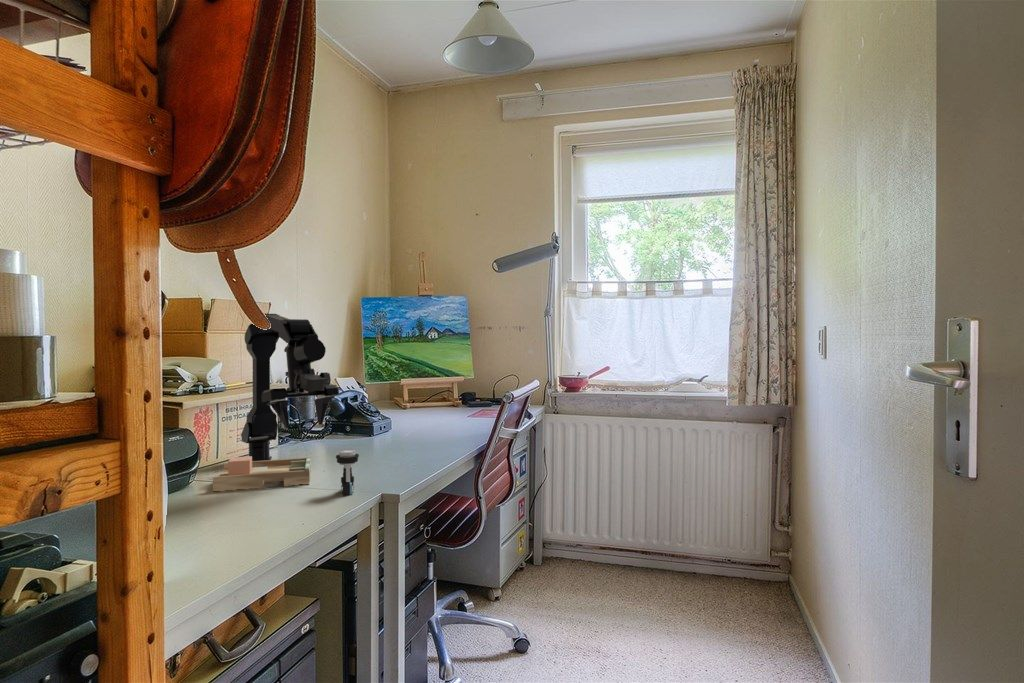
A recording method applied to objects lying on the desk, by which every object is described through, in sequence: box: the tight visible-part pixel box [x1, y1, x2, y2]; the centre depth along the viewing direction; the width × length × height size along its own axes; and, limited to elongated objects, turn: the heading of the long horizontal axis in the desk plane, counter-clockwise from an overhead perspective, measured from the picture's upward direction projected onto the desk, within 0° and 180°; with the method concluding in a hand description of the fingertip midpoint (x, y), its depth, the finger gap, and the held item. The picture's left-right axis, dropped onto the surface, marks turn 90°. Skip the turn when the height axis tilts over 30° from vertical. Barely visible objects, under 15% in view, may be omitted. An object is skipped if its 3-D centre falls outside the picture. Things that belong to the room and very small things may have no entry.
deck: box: [212, 455, 312, 492], centre depth 151 cm, size 16×22×4 cm
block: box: [227, 455, 253, 476], centre depth 149 cm, size 5×5×4 cm
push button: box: [335, 449, 360, 496], centre depth 140 cm, size 7×5×10 cm
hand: (304, 426), depth 148 cm, fingers open, 9 cm apart
